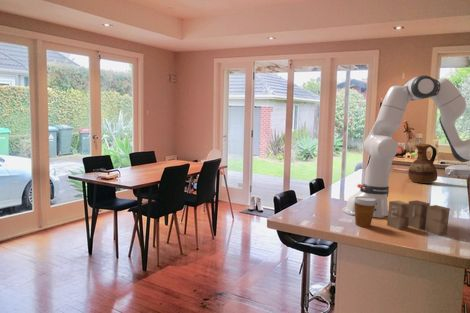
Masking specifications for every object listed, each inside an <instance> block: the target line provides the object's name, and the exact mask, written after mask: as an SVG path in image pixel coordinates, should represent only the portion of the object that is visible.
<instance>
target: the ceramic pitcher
mask: <svg viewBox="0 0 470 313" xmlns="http://www.w3.org/2000/svg"><path fill="white" fill-rule="evenodd" d="M414 147H416V149H417V151H416V152H417V157H416V159H414V160H413V162H412V163H411V164H410V165H409V168H408V172H407V173H408V174H407V177H408V179H409V181H411V182H414V183H418V182H419V183H421V184H426V183H434V182H436V181H438V171H437V168H436V166H435V164H434V163H435V159H436V158H437V151H438V150H437V149H436V148H437V147H436V148H435V147H434V146H433V145H431V144H429V143H426V144H425V143H421V144H414ZM429 148H430V149H431V150H432V153H431V157H430V159H428V156H427V151H428V149H429Z"/></svg>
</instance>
